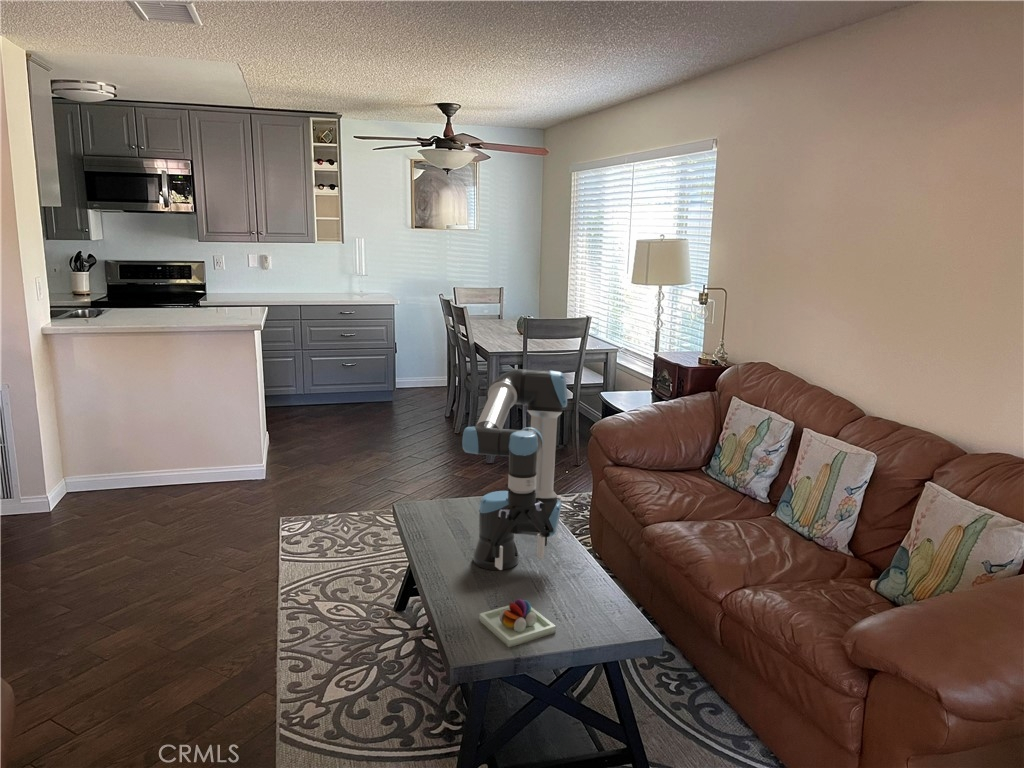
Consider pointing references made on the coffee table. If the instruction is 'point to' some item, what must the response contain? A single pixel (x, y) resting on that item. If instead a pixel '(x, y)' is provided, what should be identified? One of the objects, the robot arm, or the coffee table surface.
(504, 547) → the robot arm
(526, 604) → the rainbow lobed toy
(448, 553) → the coffee table surface
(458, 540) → the coffee table surface
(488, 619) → the tray
